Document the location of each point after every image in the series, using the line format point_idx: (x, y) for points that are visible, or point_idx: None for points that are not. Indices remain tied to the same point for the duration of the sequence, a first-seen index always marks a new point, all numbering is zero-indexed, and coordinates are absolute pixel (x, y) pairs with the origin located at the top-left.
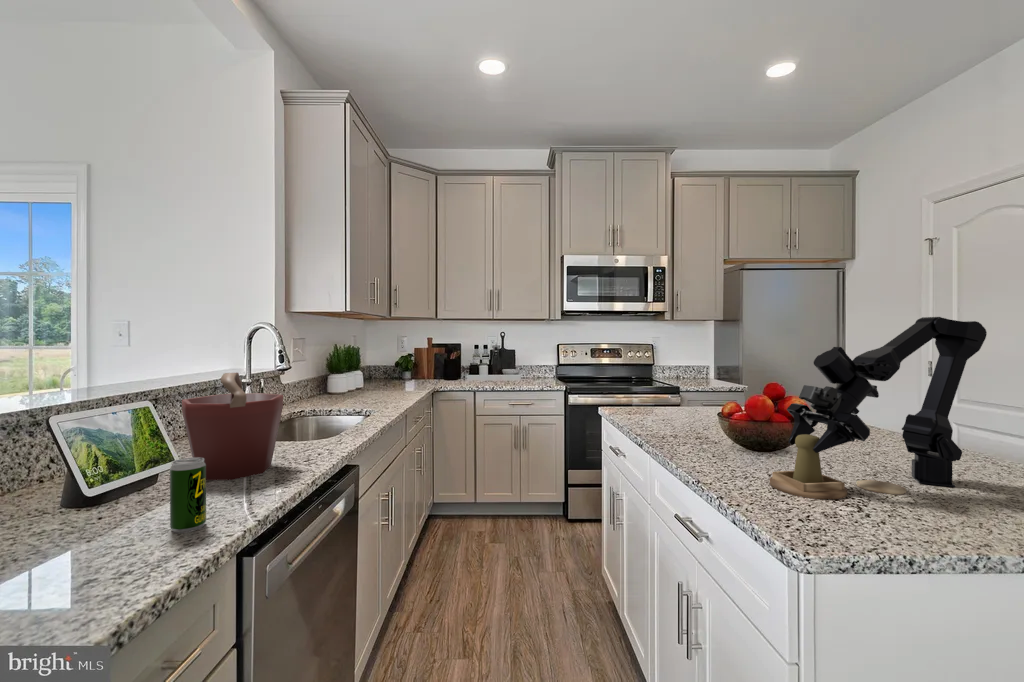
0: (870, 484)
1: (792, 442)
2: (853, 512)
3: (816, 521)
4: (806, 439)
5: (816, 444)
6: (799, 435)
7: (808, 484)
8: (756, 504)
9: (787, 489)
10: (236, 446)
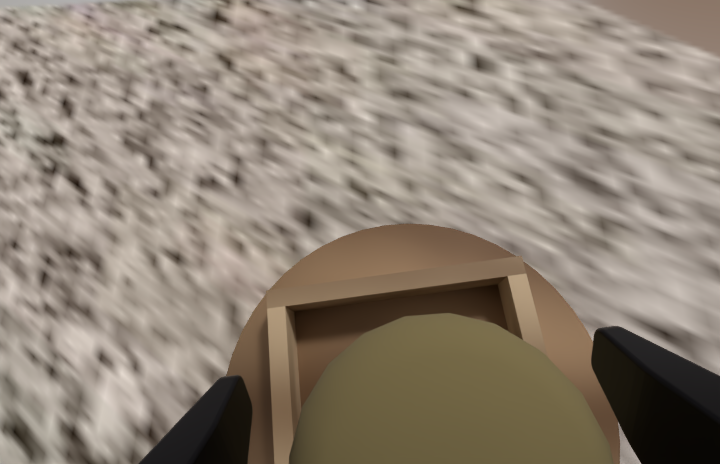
0: None
1: (605, 367)
2: (65, 397)
3: (30, 184)
4: (333, 373)
5: (201, 419)
6: (486, 363)
7: (268, 321)
8: (215, 73)
9: (325, 245)
10: None
